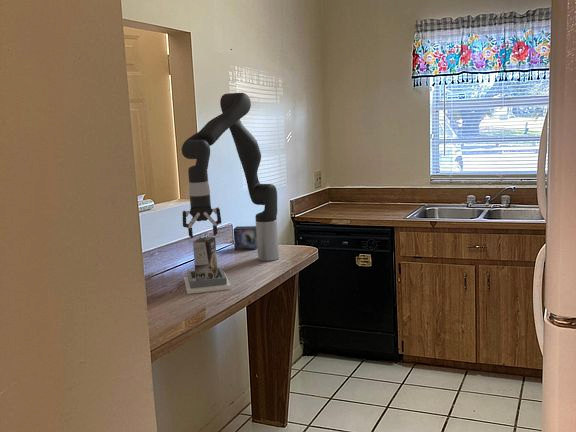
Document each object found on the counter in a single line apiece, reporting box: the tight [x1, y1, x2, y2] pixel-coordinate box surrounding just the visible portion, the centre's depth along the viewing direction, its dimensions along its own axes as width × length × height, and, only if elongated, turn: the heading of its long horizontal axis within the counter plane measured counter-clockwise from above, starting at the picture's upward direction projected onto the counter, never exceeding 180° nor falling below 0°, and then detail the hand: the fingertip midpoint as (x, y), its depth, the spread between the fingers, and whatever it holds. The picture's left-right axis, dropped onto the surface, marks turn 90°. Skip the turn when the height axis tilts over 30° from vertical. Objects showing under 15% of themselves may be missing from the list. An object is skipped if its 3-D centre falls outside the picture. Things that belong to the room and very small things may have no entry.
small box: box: [232, 225, 258, 251], centre depth 288 cm, size 11×6×10 cm, turn 80°
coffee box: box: [192, 236, 219, 280], centre depth 227 cm, size 9×6×16 cm
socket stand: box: [183, 267, 232, 295], centre depth 228 cm, size 19×16×4 cm
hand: (203, 236), depth 225 cm, fingers open, 8 cm apart
